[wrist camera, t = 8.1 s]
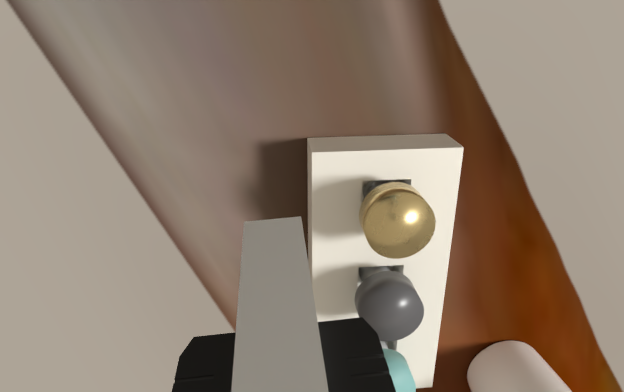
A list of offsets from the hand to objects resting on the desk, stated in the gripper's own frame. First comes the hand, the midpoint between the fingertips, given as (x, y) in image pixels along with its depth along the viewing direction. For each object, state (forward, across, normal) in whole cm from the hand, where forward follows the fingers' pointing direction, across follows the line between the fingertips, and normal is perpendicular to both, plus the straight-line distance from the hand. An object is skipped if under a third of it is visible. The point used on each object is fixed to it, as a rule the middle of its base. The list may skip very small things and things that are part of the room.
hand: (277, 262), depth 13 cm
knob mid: (+25, +8, -18) cm, 32 cm away
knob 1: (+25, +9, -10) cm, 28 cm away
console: (+26, +8, -18) cm, 33 cm away
